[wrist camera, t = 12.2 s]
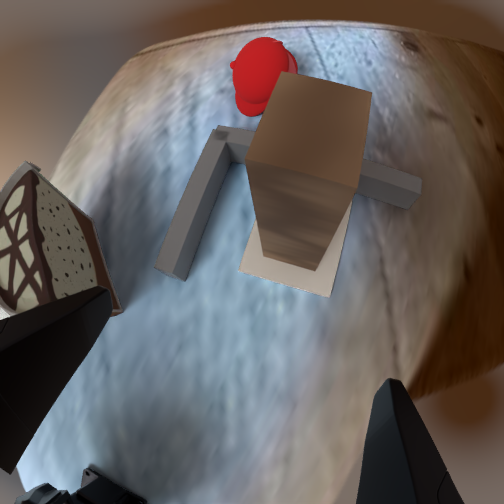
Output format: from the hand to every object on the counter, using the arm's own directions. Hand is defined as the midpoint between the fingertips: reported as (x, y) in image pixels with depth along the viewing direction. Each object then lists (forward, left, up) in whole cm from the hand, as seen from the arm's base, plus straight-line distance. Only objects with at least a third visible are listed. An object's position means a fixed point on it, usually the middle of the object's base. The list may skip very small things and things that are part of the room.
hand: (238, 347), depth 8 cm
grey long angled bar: (+8, 0, -14) cm, 16 cm away
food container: (-1, +17, -14) cm, 22 cm away
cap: (+22, +7, -14) cm, 27 cm away
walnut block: (+8, 0, -13) cm, 16 cm away
